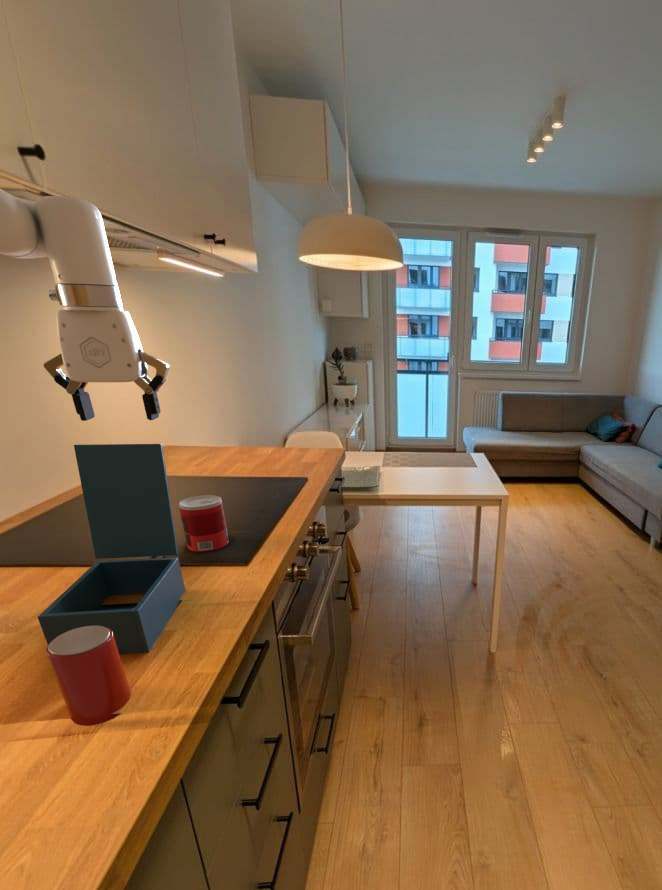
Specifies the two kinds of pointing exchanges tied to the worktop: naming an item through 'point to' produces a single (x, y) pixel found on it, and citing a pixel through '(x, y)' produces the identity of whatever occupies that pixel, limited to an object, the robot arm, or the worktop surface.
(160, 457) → the lid
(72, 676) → the can
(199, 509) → the canned food
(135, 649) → the open box
